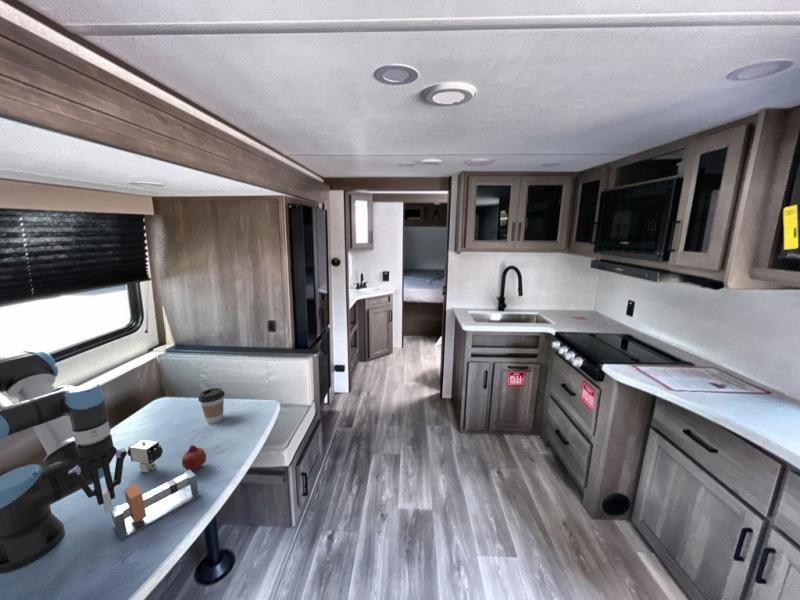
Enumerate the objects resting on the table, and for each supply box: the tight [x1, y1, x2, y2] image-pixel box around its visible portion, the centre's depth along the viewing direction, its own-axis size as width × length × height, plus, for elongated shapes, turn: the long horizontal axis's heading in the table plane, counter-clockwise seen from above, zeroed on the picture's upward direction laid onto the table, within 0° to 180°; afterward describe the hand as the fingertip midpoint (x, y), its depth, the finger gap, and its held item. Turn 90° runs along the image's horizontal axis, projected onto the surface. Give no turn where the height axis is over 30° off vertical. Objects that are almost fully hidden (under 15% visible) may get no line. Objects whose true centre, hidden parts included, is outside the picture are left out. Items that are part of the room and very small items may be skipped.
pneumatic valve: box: [126, 439, 164, 473], centre depth 129 cm, size 6×12×12 cm, turn 78°
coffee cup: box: [198, 387, 226, 425], centre depth 164 cm, size 11×11×15 cm
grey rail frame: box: [110, 470, 202, 543], centre depth 109 cm, size 22×9×8 cm, turn 142°
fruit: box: [181, 444, 207, 472], centre depth 129 cm, size 8×8×10 cm
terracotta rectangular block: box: [123, 483, 146, 523], centre depth 104 cm, size 3×6×8 cm, turn 52°
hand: (108, 510), depth 99 cm, fingers closed
